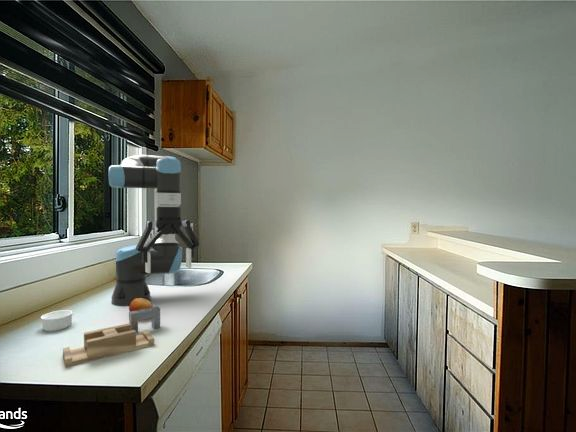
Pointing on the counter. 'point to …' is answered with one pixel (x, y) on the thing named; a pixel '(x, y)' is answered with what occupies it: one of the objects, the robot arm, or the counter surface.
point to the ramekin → (56, 320)
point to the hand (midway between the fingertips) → (169, 269)
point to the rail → (107, 344)
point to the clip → (145, 317)
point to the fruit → (140, 304)
